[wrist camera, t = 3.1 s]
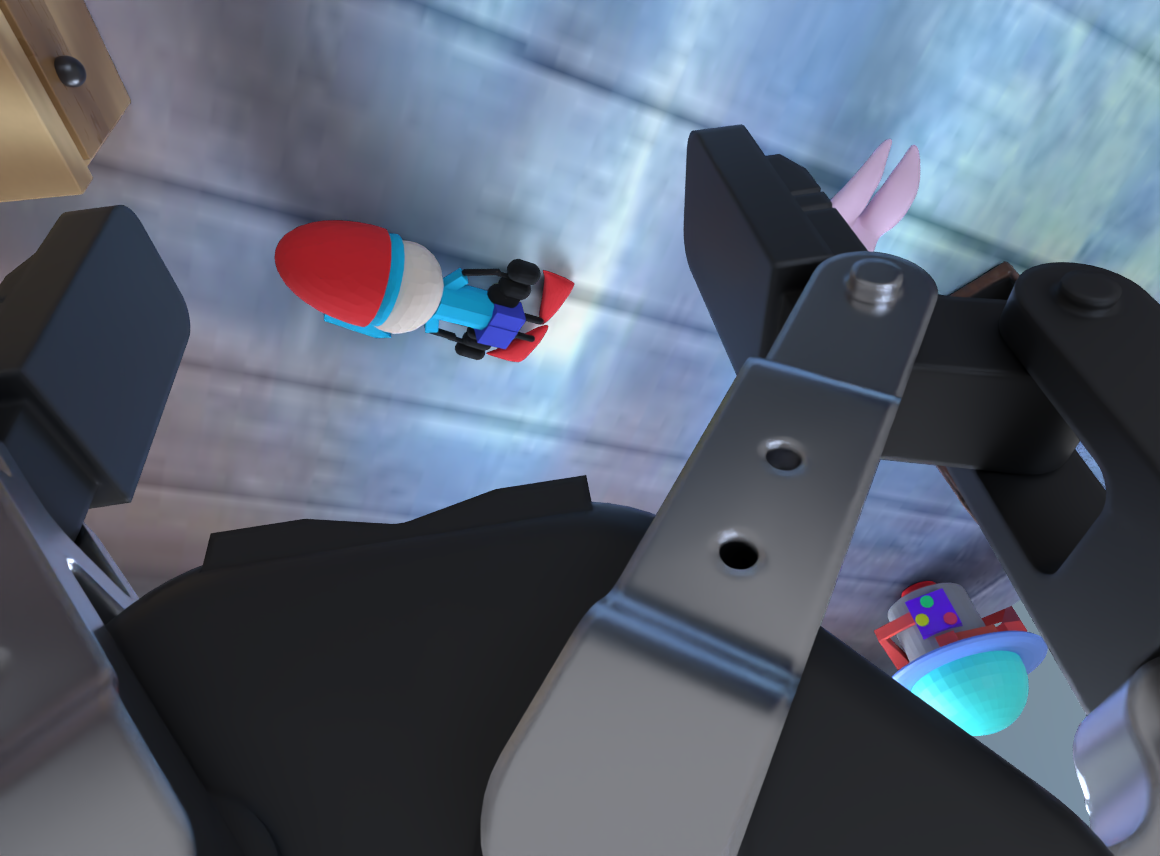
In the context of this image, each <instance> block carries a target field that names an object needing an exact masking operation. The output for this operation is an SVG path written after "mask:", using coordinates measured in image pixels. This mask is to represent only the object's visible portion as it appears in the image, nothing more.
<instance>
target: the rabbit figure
mask: <svg viewBox="0 0 1160 856" xmlns="http://www.w3.org/2000/svg"><path fill="white" fill-rule="evenodd" d="M891 145H892V140H891V139H887V140H885V141H884V142H883V143H881V144H880V145H879V146H878V147H877V149H876V150H875V151H874V152H873V153H872V155H871V156H870V157H869V158H868V160H867V161H866V162H865V163H864V165H863V166H862V167H861V168H860V169H859V170H858V171H857V173H856V174H855V175H854V176H853V177H852V178H851V179H850V180H849V182H848V183H847V184H846V185H845V186H844V187H843V188H842V189H841V190H840V191H839V192H838V193H837V194H836V195H835V196H834V197H833V198H832V199H831V200H830V201H831V202H832V207H833V208H836V209H837V210H838V212H839V213H840V214H841V216H842V217H843V218H844V219H845V221H846V222H847V223H848V225H849V226H850V227H851V229H852V230H853V231H854V233H855V234H856V235H857V237H858V238H859V239H860V241H861V242H862V243H863V245H864V246H865V247H866V249H867V250H868V251H870V252H874V249H875V246H876V244H877V241H878V239H879V238H880V236H882V235H883V234H884V233H886V232H887V231H889V230H890V229H892V228H893V227H894V226H895V225H896V224H897V223H898V222H899V221H900V220H901V219H902V218H903V217H904V215H905V214H906V213H907V211H908V210H909V208H910V206H911V204H912V203H913V201H914V199H915V197H916V194H917V191H918V187H919V182H920V157H919V150H918V148H917V146H916V145H912V146H911V147H910V148H909V149H908V151H907V152H906V154H905V155H904V157H903V158H902V159H901V161H900V162H899V163H898V165H897V166H896V167H895V169H894V170H893V171H892V173H891V174H890V176H889V177H888V179H887V180H886V181H885V183H884V184H883V186H882V187H881V188H880V189H879V191H878V192H877V193H876V194H875V196H874V197H873V198H872V200H871V201H870V202H869V200H870V198H871V196H872V194H873V193H874V191H875V189H876V188H877V186H878V184H879V182H880V180H881V178H882V175H883V172H884V169H885V165H886V161H887V158H888V154H889V151H890V148H891ZM868 202H869V204H868ZM867 204H868V205H867ZM866 205H867V206H866ZM865 207H866V208H865Z"/></svg>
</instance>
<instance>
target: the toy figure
mask: <svg viewBox="0 0 1160 856" xmlns="http://www.w3.org/2000/svg"><path fill="white" fill-rule="evenodd" d="M275 264H276V267H277V270H278V272H279V274H280V276H281V278H282V279H283V281H284V282H285V284H286V285H287V286H288V287H289V288H290V289H291V290H292V291H293V292H294V293H295V294H296V295H297V296H298V297H299V298H301V299H302V300H303V301H304V302H306V303H307V304H309V305H311V306H312V307H314V308H315V309H317V310H318V311H320V312H322V313H324V321H326V322H329V323H332V324H335V325H338V326H341V327H344V328H347V329H350V330H353V331H356V332H359V333H362V334H365V335H368V336H371V337H374V338H390V337H391V333H393V334H396V333H405V332H410V331H413V330H416V329H417V328H419V327H420V326H422V325H423V324H424V327H425V333H431V334H434V335H437V336H441V337H444V338H447V339H448V340H452V341H455V342H458V343H457V344H456V346H455V350H456V353H457V354H459V355H461V356H465V357H468V358H472V359H476V360H480V359H482V358H483V357H484V355H485V350H488V349H490V347H491V346H493V347H497V349H496V350H493V351H490V352H487V354H488V355H491V356H494V357H498V358H501V359H505V360H508V361H512V362H521V361H522V360H524V359H525V358H526V357H527V356H528V355H529V354H530V353H531V352H532V351H533V350H534V348H535V347H536V346H537V345H538V344H539V343H540V341H541V340H542V338H543V337H544V335H545V333H546V332H547V329H548V325H544V326H540V327H537V328H535V329H533V330H531V331H529V332H527V333H525V334H524V333H521V332H518V331H519V330H520V328H521V327H522V326H523V324H524V323H525V322H526V321H528V322H532V323H536V324H544V323H546V322H547V321H548V320H549V319H550V318H551V317H552V316H553V315H554V314H555V313H556V312H557V311H558V309H559V308H560V307H561V305H562V304H563V303H564V301H565V300H566V298H567V297H568V295H569V294H570V292H571V290H572V289H573V286H574V283H573V282H572V281H570V280H568V279H566V278H565V277H562V276H559V275H557V274H555V273H552V272H549V271H546V270H543V273H544V288H543V294H542V300H541V306H540V312H539V317H537V316H533V315H530V314H526V313H524V311H523V307H522V304H521V302H520V300H523V299H525V298H527V297H528V296H529V294H530V292H531V286H530V285H534V284H536V283H537V282H538V281H539V279H540V270H539V268H538V266H536V265H535V264H533V263H530V262H527V261H524V260H521V259H515V260H513V261H511V262H510V263H509V265H508V267H507V273H508V274H507V273H504V272H501V271H500V269H463V270H462V269H461V268H459V269H457V270H455V271H454V272H452V273H451V274H449V275H447V276H446V277H444V278H443V277H442V271H441V267H440V265H439V263H438V261H437V260H436V258H435V257H434V255H433V254H432V253H431V252H430V251H429V250H427V249H426V248H425V247H424V246H422V245H420V244H418V243H415V242H411V241H405V240H402V238H401V237H400V236H399V235H398V234H393V233H388V231H387V229H384V228H382V227H379V226H375V225H371V224H366V223H360V222H353V221H342V220H328V221H318V222H312V223H308V224H305V225H302V226H299V227H297V228H295V229H294V230H292V231H290V232H289V233H287V234H285V235H284V237H283V238H282V239H281V240H280V241H279V243H278V245H277V247H276V250H275ZM481 275H496V276H500V277H501V278H500V280H499V282H498V284H494V285H492V286H491V287H490V288H489V290H488V291H487V290H483V289H480V288H476V287H473V286H469V285H466V284H468V283H469V282H468V278H467V276H481ZM439 320H443V321H447V322H451V323H455V324H459V325H463V326H467V327H468V328H467V332H466V333H464V335H463V337H462V338H458V337H456V335H455V333H452V332H449V331H446V330H442V329H439V328H438V325H439ZM514 338H516V339H514ZM513 339H514V340H513Z"/></svg>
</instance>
